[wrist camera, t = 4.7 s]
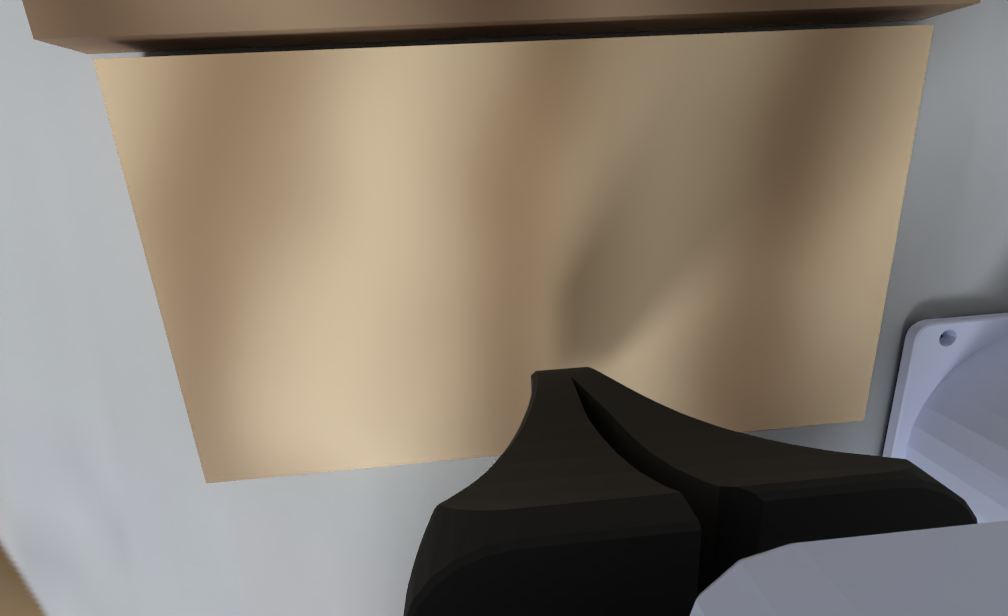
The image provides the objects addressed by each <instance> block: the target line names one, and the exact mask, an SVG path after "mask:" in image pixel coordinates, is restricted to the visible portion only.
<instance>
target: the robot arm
mask: <svg viewBox="0 0 1008 616" xmlns="http://www.w3.org/2000/svg"><path fill="white" fill-rule="evenodd" d="M943 333H944V334H943ZM941 334H943V336H942V338H941V339H940V336H941ZM404 616H1008V313H999V314H987V315H974V316H962V317H950V318H938V319H926V320H921V321H918V322H917V323H915V324H914V325H912V326H911V327H910V329H909V330H908V332H907V334H906V338H905V343H904V348H903V353H902V358H901V363H900V369H899V374H898V379H897V384H896V389H895V394H894V400H893V405H892V410H891V415H890V420H889V425H888V431H887V436H886V441H885V446H884V451H883V457H881V456H871V455H862V454H852V453H842V452H834V451H827V450H821V449H815V448H809V447H803V446H797V445H791V444H786V443H782V442H777V441H772V440H767V439H763V438H759V437H755V436H751V435H748V434H744V433H740V432H736V431H732V430H729V429H726V428H722V427H719V426H716V425H713V424H710V423H707V422H704V421H702V420H699V419H696V418H693V417H690V416H688V415H685V414H683V413H680V412H678V411H675V410H673V409H671V408H669V407H666V406H664V405H662V404H660V403H658V402H655V401H653V400H651V399H649V398H647V397H645V396H643V395H641V394H639V393H637V392H635V391H634V390H632V389H630V388H628V387H626V386H624V385H622V384H621V383H619V382H617V381H615V380H613V379H612V378H610V377H608V376H606V375H604V374H602V373H601V372H599V371H597V370H595V369H593V368H590V367H578V368H566V369H553V370H541V371H535V372H534V373H533V374H532V375H531V398H530V402H529V405H528V408H527V411H526V413H525V416H524V418H523V420H522V423H521V425H520V427H519V429H518V431H517V433H516V434H515V436H514V438H513V439H512V441H511V442H510V444H509V446H508V447H507V448H506V450H505V451H504V452H503V454H502V455H501V456H500V457H499V459H498V460H497V461H496V462H495V463H494V465H493V466H492V467H491V468H490V469H489V470H488V471H487V472H486V473H485V474H484V475H482V476H481V477H480V478H479V479H477V480H476V481H475V482H474V483H472V484H471V485H470V486H468V487H467V488H465V489H464V490H462V491H460V492H459V493H457V494H456V495H454V496H452V497H451V498H449V499H447V500H446V501H444V502H442V503H440V504H439V505H438V506H437V507H436V508H435V509H434V511H433V514H432V516H431V518H430V521H429V523H428V526H427V528H426V531H425V533H424V535H423V538H422V541H421V544H420V547H419V549H418V552H417V555H416V559H415V562H414V566H413V569H412V573H411V577H410V580H409V584H408V589H407V594H406V602H405V610H404Z"/></svg>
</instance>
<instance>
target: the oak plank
mask: <svg viewBox="0 0 1008 616" xmlns="http://www.w3.org/2000/svg"><path fill="white" fill-rule="evenodd" d="M933 29H934V24H931V25H907V26H883V27H859V28H835V29H810V30H786V31H762V32H738V33H714V34H690V35H665V36H641V37H617V38H593V39H569V40H544V41H520V42H496V43H472V44H448V45H424V46H399V47H375V48H351V49H327V50H303V51H278V52H254V53H230V54H206V55H182V56H158V57H133V58H109V59H93V61H94V65H95V69H96V73H97V76H98V80H99V84H100V88H101V91H102V95H103V99H104V103H105V106H106V110H107V114H108V117H109V121H110V125H111V129H112V132H113V136H114V140H115V144H116V147H117V151H118V155H119V159H120V162H121V166H122V170H123V174H124V177H125V181H126V185H127V189H128V192H129V196H130V200H131V204H132V207H133V211H134V215H135V219H136V222H137V226H138V230H139V234H140V237H141V241H142V245H143V248H144V252H145V256H146V260H147V263H148V267H149V271H150V275H151V278H152V282H153V286H154V290H155V293H156V297H157V301H158V305H159V308H160V312H161V316H162V320H163V323H164V327H165V331H166V335H167V338H168V342H169V346H170V350H171V353H172V357H173V361H174V364H175V368H176V372H177V376H178V379H179V383H180V387H181V391H182V394H183V398H184V402H185V406H186V409H187V413H188V417H189V421H190V424H191V428H192V432H193V436H194V439H195V443H196V447H197V451H198V454H199V458H200V462H201V466H202V469H203V473H204V477H205V480H206V483H214V482H225V481H235V480H246V479H256V478H267V477H277V476H288V475H298V474H309V473H319V472H330V471H340V470H350V469H361V468H371V467H382V466H392V465H403V464H413V463H424V462H434V461H445V460H455V459H466V458H476V457H487V456H497V455H502V454H503V452H504V451H505V450H506V448H507V447H508V446H509V444H510V442H511V441H512V439H513V438H514V436H515V434H516V433H517V431H518V429H519V427H520V425H521V423H522V420H523V418H524V416H525V413H526V411H527V408H528V405H529V402H530V398H531V375H532V374H533V373H534V372H535V371H541V370H553V369H566V368H578V367H590V368H593V369H595V370H597V371H599V372H601V373H602V374H604V375H606V376H608V377H610V378H612V379H613V380H615V381H617V382H619V383H621V384H622V385H624V386H626V387H628V388H630V389H632V390H634V391H635V392H637V393H639V394H641V395H643V396H645V397H647V398H649V399H651V400H653V401H655V402H658V403H660V404H662V405H664V406H666V407H669V408H671V409H673V410H675V411H678V412H680V413H683V414H685V415H688V416H690V417H693V418H696V419H699V420H702V421H704V422H707V423H710V424H713V425H716V426H719V427H722V428H726V429H729V430H732V431H736V432H749V431H759V430H770V429H780V428H791V427H801V426H812V425H822V424H833V423H843V422H854V421H864V418H865V413H866V407H867V402H868V396H869V390H870V385H871V379H872V373H873V368H874V362H875V356H876V351H877V345H878V339H879V334H880V328H881V322H882V317H883V311H884V306H885V300H886V294H887V289H888V283H889V277H890V272H891V266H892V260H893V255H894V249H895V243H896V238H897V232H898V226H899V221H900V215H901V210H902V204H903V198H904V193H905V187H906V181H907V176H908V170H909V164H910V159H911V153H912V147H913V142H914V136H915V131H916V125H917V119H918V114H919V108H920V102H921V97H922V91H923V85H924V80H925V74H926V68H927V63H928V57H929V51H930V46H931V40H932V35H933Z"/></svg>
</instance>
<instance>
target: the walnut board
mask: <svg viewBox="0 0 1008 616" xmlns="http://www.w3.org/2000/svg"><path fill="white" fill-rule="evenodd" d="M22 1H23V4H24V8H25V11H26V14H27V18H28V21H29V25H30V28H31V31H32V35H33V38H34V39H35V40H39V41H43V42H46V43H50V44H54V45H57V46H61V47H64V48H68V49H72V50H75V51H79V52H83V53H86V54H97V53H121V52H146V51H171V50H195V49H220V48H244V47H269V46H294V45H318V44H343V43H367V42H392V41H417V40H441V39H466V38H490V37H515V36H539V35H564V34H589V33H613V32H638V31H662V30H687V29H712V28H736V27H761V26H785V25H810V24H835V23H859V22H884V21H908V20H923V19H926V18H929V17H933V16H936V15H940V14H943V13H946V12H950V11H953V10H956V9H960V8H963V7H967V6H970V5H973V4H977V3H980V0H22Z"/></svg>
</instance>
